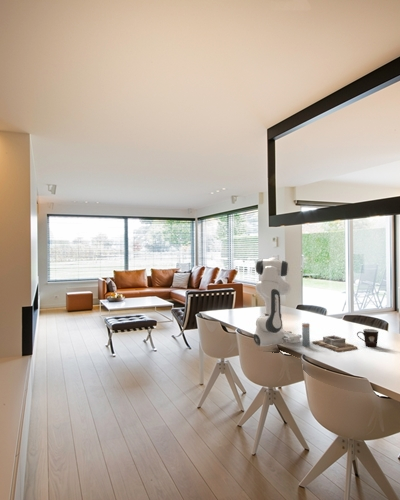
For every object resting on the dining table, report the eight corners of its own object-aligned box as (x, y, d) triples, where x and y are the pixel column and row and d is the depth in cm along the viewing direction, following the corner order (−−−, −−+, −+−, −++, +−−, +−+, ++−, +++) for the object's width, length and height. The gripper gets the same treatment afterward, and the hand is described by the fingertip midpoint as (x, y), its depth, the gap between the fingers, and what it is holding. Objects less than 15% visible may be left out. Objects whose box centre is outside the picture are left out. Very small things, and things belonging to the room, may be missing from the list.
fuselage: (300, 344, 220) (300, 323, 220) (306, 344, 221) (306, 322, 221) (305, 346, 215) (305, 324, 216) (311, 345, 217) (310, 324, 217)
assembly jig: (312, 343, 223) (312, 335, 223) (330, 340, 229) (330, 332, 230) (338, 352, 203) (337, 343, 203) (357, 348, 209) (357, 340, 209)
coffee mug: (380, 346, 215) (380, 330, 215) (375, 348, 209) (375, 332, 209) (361, 342, 223) (361, 327, 223) (356, 345, 217) (356, 329, 217)
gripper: (288, 335, 200) (306, 333, 206) (268, 328, 219) (285, 326, 225) (288, 346, 200) (307, 343, 206) (268, 338, 219) (285, 335, 225)
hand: (295, 334), depth 215 cm, fingers open, 8 cm apart
